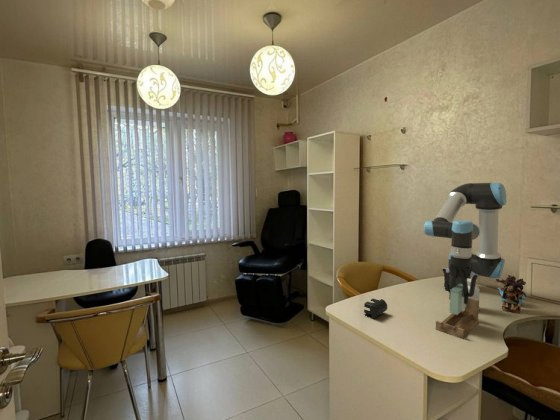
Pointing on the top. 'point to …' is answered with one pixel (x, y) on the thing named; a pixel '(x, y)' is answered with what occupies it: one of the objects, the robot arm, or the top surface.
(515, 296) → the figurine
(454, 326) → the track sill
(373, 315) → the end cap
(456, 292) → the door panel
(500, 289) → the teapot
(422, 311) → the top surface
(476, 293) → the pill bottle
